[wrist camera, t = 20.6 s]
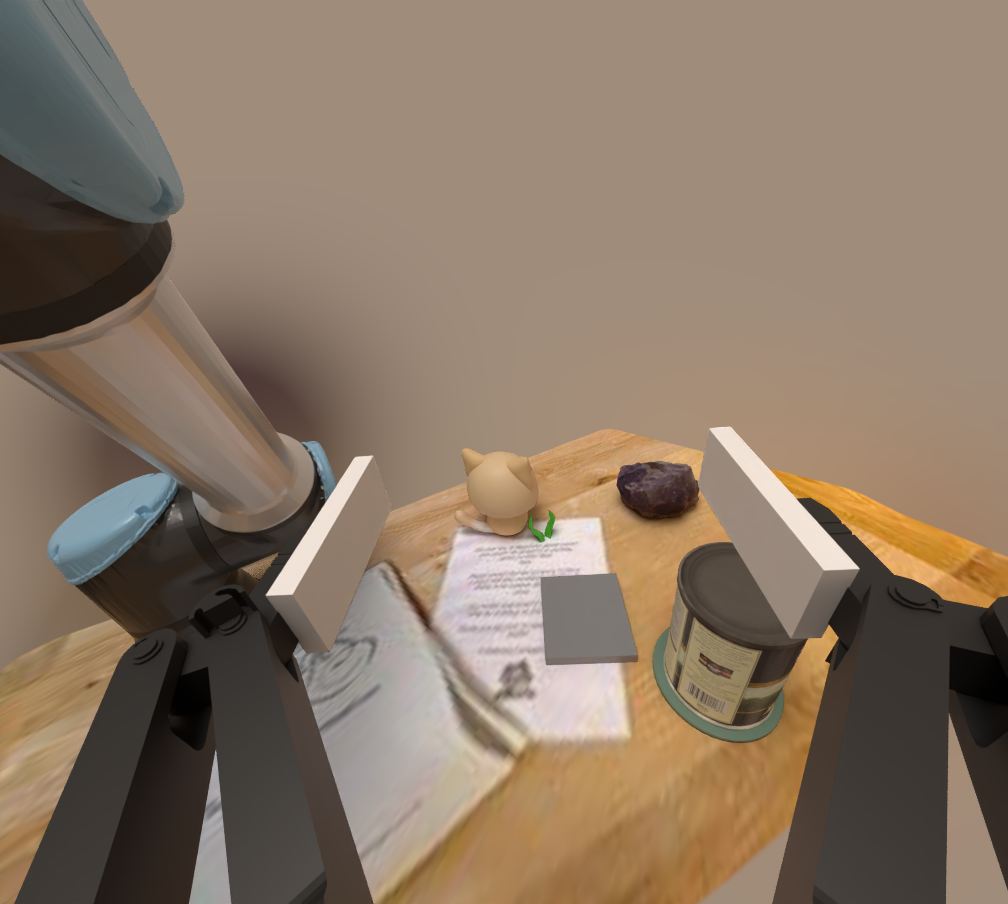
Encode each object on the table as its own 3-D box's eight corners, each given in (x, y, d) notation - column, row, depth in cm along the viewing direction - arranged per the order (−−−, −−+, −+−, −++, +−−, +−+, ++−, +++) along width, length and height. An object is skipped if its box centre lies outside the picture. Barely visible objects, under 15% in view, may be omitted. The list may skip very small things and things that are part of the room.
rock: (624, 492, 68) (618, 531, 61) (618, 451, 65) (611, 487, 57) (698, 492, 64) (702, 535, 56) (697, 448, 60) (701, 486, 52)
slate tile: (637, 655, 42) (616, 573, 51) (545, 658, 43) (540, 577, 52) (636, 664, 43) (615, 582, 52) (546, 667, 44) (541, 586, 53)
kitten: (564, 514, 64) (560, 436, 56) (545, 559, 56) (537, 477, 48) (484, 498, 70) (470, 426, 62) (456, 537, 62) (436, 461, 54)
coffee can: (759, 636, 43) (795, 547, 35) (789, 743, 35) (845, 657, 27) (659, 621, 46) (673, 535, 38) (665, 716, 38) (684, 631, 30)
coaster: (632, 639, 45) (632, 636, 45) (725, 611, 46) (726, 608, 46) (698, 760, 35) (699, 757, 35) (814, 720, 36) (816, 717, 36)
